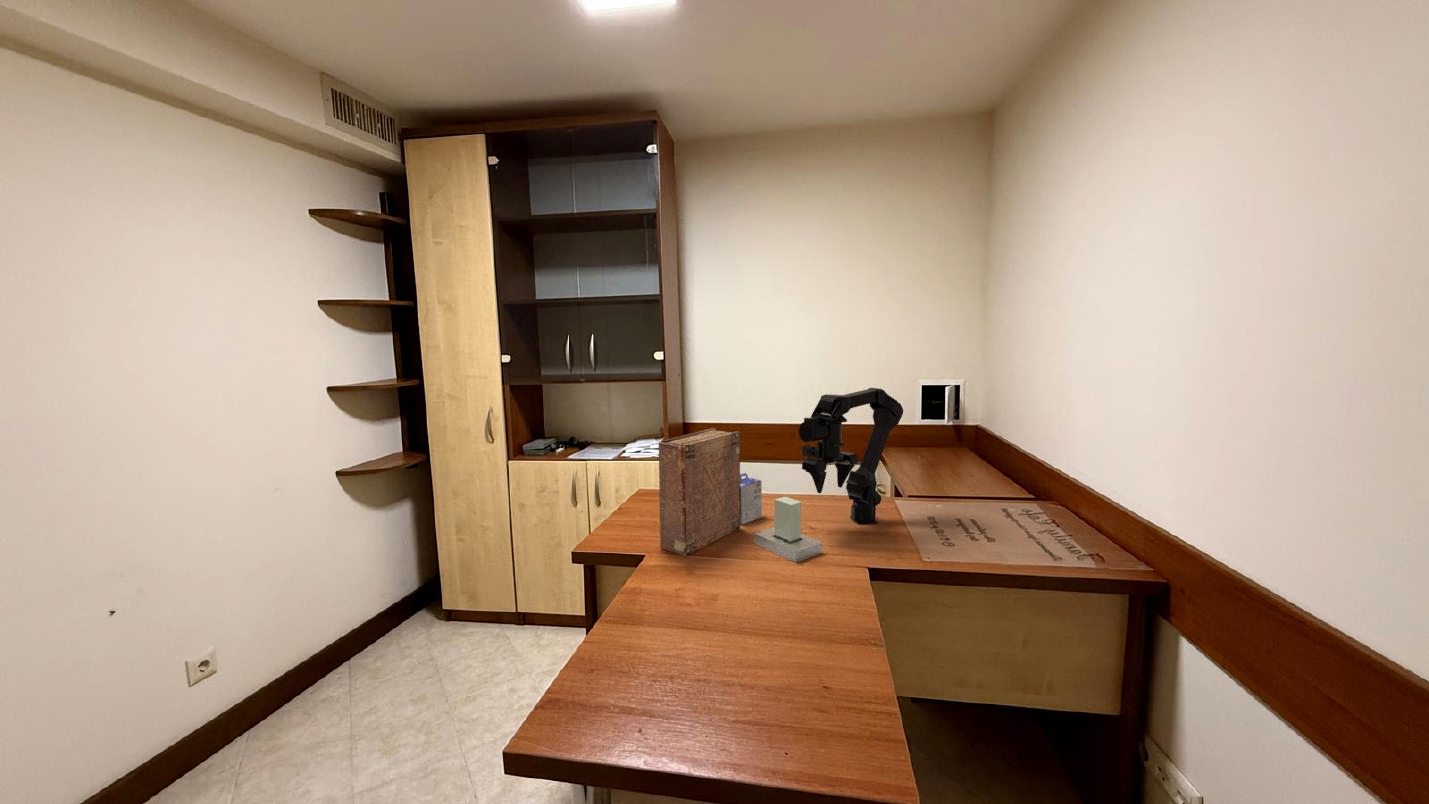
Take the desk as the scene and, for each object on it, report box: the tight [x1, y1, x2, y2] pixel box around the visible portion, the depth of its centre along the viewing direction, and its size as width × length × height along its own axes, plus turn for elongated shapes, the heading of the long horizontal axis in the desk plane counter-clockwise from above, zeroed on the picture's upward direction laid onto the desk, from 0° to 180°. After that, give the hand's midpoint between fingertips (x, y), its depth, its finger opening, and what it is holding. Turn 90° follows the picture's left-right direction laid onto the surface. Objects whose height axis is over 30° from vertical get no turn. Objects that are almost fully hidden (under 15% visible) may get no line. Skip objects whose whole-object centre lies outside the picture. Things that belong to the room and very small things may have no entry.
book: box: [658, 427, 741, 558], centre depth 150 cm, size 25×9×30 cm, turn 143°
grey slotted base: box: [753, 526, 823, 564], centre depth 145 cm, size 10×16×3 cm, turn 38°
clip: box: [774, 496, 802, 544], centre depth 144 cm, size 4×6×14 cm, turn 38°
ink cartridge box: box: [740, 472, 763, 526], centre depth 167 cm, size 10×6×14 cm, turn 134°
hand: (829, 490), depth 156 cm, fingers open, 9 cm apart
